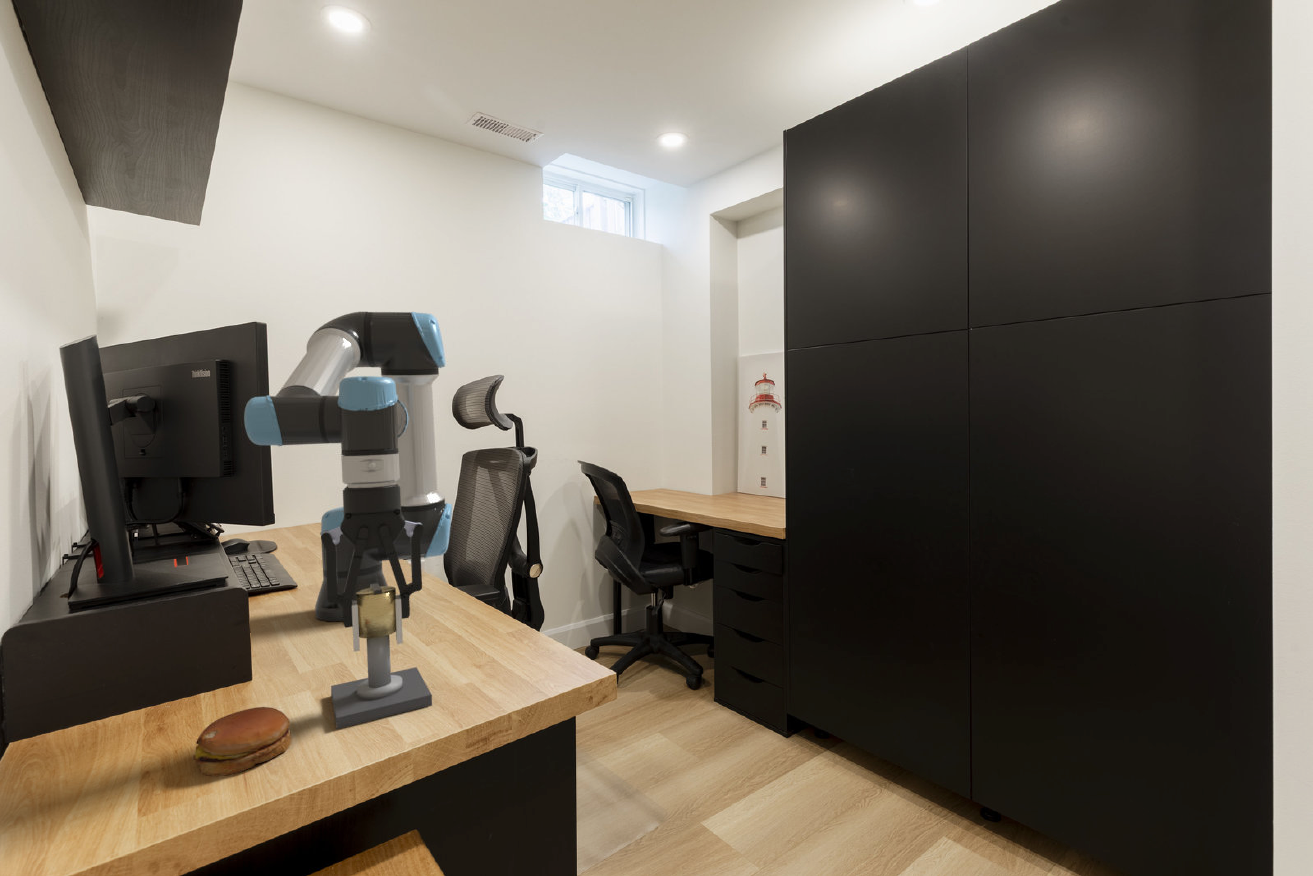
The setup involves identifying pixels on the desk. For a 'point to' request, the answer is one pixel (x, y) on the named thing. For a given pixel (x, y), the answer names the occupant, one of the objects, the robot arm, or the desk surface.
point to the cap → (376, 611)
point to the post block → (379, 689)
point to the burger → (242, 741)
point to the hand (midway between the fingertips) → (378, 644)
